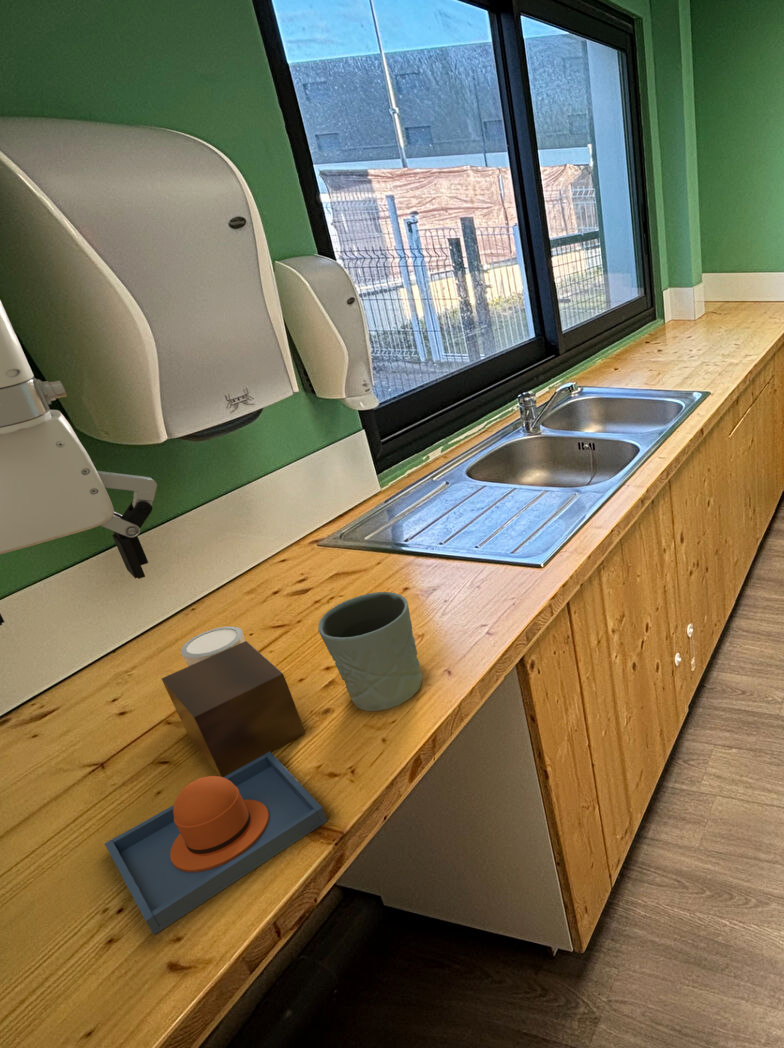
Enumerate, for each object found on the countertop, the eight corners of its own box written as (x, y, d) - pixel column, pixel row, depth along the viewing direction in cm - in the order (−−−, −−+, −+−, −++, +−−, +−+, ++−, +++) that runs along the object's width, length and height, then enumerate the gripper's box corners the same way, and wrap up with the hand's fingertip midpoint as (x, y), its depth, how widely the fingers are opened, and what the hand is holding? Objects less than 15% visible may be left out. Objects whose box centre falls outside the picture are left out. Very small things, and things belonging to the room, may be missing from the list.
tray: (154, 935, 62) (145, 920, 61) (112, 857, 70) (104, 843, 69) (328, 821, 72) (322, 807, 72) (275, 764, 80) (269, 751, 79)
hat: (188, 888, 65) (159, 836, 62) (159, 842, 70) (132, 791, 67) (283, 828, 71) (261, 777, 68) (250, 789, 76) (229, 740, 73)
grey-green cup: (442, 669, 95) (423, 594, 90) (398, 721, 86) (374, 640, 81) (376, 663, 97) (353, 589, 92) (326, 713, 88) (298, 634, 83)
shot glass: (186, 695, 92) (167, 652, 89) (233, 664, 98) (216, 622, 95) (226, 704, 90) (207, 660, 87) (271, 671, 96) (255, 629, 93)
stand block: (222, 779, 78) (194, 717, 74) (189, 737, 85) (161, 678, 81) (305, 733, 85) (283, 673, 81) (268, 697, 91) (246, 640, 87)
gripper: (105, 379, 63) (172, 547, 70) (-191, 428, 51) (-74, 625, 58) (129, 392, 58) (197, 569, 66) (-189, 449, 46) (-63, 659, 54)
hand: (70, 595), depth 62 cm, fingers open, 9 cm apart
